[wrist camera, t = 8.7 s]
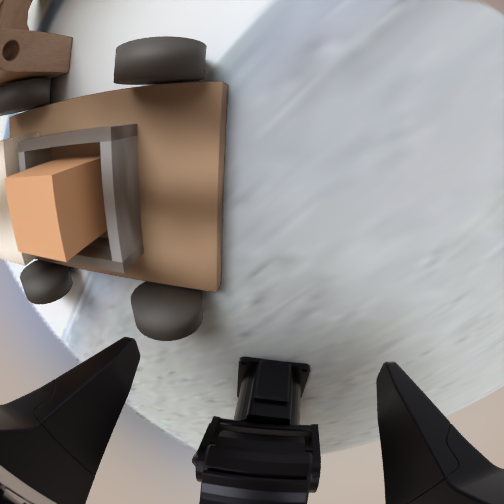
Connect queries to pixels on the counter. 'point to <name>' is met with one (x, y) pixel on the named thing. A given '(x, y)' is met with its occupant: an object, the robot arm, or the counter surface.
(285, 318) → the counter surface
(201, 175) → the chassis
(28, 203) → the orange block
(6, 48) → the wooden toy
